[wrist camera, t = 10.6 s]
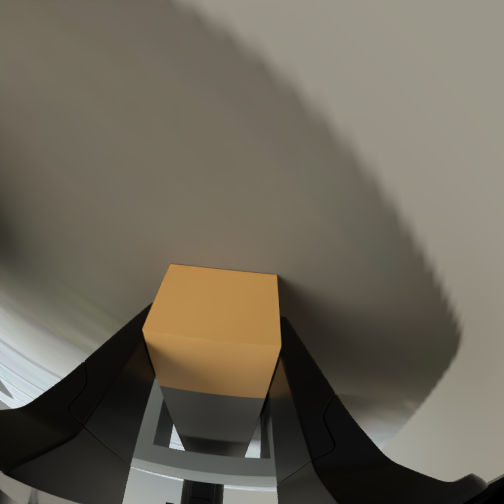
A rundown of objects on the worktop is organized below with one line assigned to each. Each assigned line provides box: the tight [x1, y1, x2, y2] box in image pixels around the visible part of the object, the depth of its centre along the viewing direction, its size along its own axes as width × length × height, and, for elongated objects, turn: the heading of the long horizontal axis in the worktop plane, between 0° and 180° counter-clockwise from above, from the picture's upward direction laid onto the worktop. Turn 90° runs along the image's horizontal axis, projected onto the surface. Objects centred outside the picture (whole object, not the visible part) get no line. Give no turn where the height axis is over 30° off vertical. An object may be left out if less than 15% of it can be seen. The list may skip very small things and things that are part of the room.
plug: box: [142, 264, 281, 458], centre depth 12 cm, size 16×4×3 cm, turn 174°
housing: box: [131, 378, 277, 486], centre depth 12 cm, size 4×12×5 cm, turn 84°
